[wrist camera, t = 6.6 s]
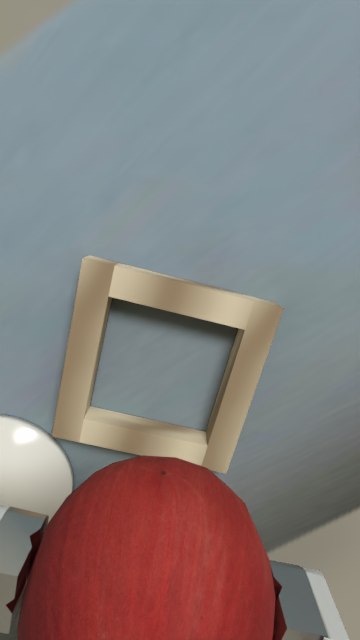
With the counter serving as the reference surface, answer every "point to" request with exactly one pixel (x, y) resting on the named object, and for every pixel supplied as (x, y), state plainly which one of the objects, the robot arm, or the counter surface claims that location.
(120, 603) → the onion
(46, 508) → the white domed disc
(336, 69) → the counter surface
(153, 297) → the frame
